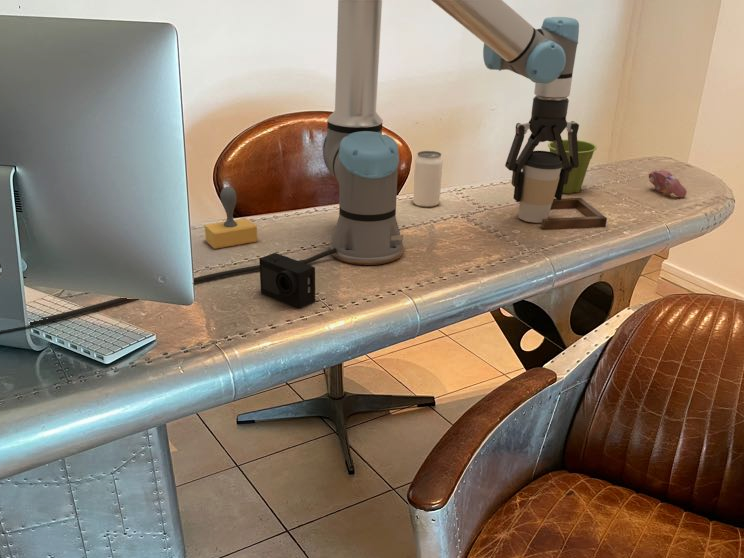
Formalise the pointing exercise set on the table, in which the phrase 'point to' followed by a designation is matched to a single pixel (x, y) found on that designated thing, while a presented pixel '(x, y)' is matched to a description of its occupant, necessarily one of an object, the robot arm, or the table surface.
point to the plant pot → (578, 173)
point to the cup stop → (591, 220)
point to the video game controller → (667, 183)
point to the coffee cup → (539, 185)
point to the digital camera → (287, 280)
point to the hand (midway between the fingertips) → (537, 199)
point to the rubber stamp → (230, 225)
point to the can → (427, 179)
